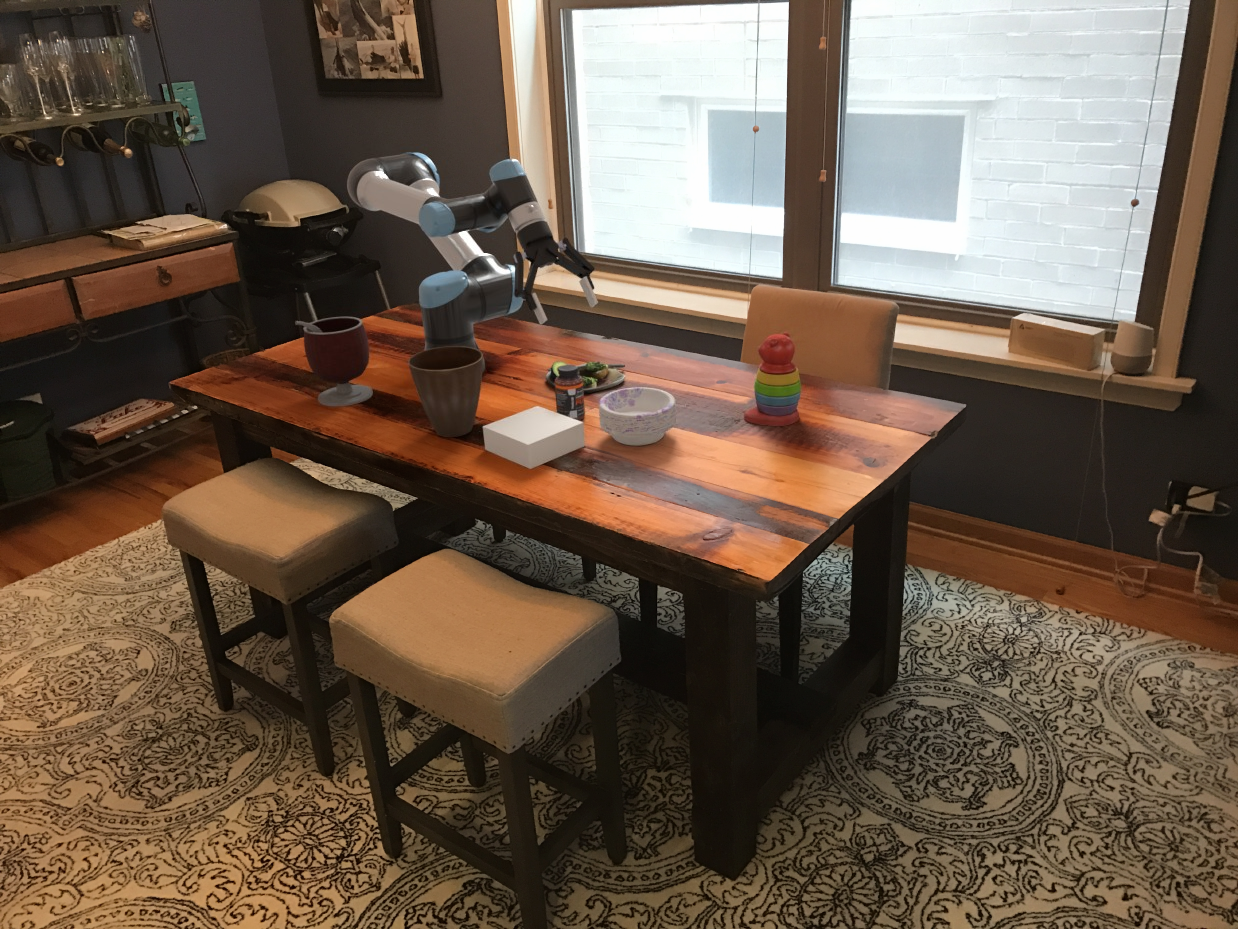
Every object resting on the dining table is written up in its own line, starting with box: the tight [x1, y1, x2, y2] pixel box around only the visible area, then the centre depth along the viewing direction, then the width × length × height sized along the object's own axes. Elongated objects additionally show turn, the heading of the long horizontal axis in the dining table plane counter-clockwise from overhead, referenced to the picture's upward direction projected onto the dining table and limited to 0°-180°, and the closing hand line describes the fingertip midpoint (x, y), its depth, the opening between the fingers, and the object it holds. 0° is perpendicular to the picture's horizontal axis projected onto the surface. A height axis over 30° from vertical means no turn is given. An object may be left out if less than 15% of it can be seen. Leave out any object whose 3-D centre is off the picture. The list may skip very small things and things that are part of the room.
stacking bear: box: [743, 331, 802, 427], centre depth 199 cm, size 11×10×18 cm
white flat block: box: [482, 405, 586, 470], centre depth 194 cm, size 14×14×5 cm
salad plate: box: [545, 360, 626, 395], centre depth 229 cm, size 19×18×5 cm
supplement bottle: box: [554, 364, 586, 421], centre depth 206 cm, size 6×6×11 cm
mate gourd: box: [294, 316, 374, 407], centre depth 222 cm, size 16×14×20 cm
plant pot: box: [407, 346, 484, 438], centre depth 202 cm, size 15×15×16 cm
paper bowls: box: [598, 386, 677, 447], centre depth 196 cm, size 15×15×8 cm
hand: (569, 313), depth 220 cm, fingers open, 13 cm apart
